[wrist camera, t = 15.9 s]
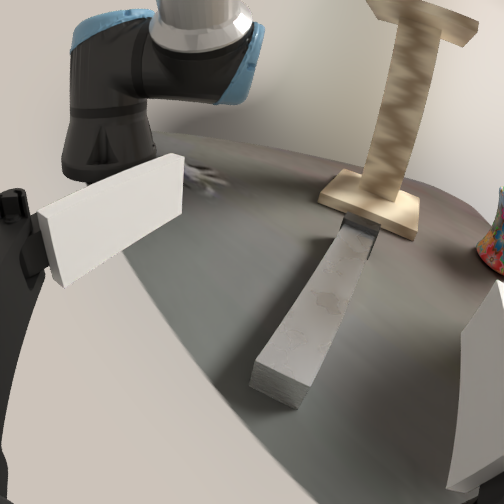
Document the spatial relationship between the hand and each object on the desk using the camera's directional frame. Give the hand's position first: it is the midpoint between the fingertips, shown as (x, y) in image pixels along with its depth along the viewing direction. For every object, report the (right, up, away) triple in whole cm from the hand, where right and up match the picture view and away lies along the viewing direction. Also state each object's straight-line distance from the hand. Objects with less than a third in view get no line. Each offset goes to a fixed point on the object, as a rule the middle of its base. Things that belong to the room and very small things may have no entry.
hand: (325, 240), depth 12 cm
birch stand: (+16, +7, +35) cm, 39 cm away
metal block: (+4, -5, +16) cm, 17 cm away
